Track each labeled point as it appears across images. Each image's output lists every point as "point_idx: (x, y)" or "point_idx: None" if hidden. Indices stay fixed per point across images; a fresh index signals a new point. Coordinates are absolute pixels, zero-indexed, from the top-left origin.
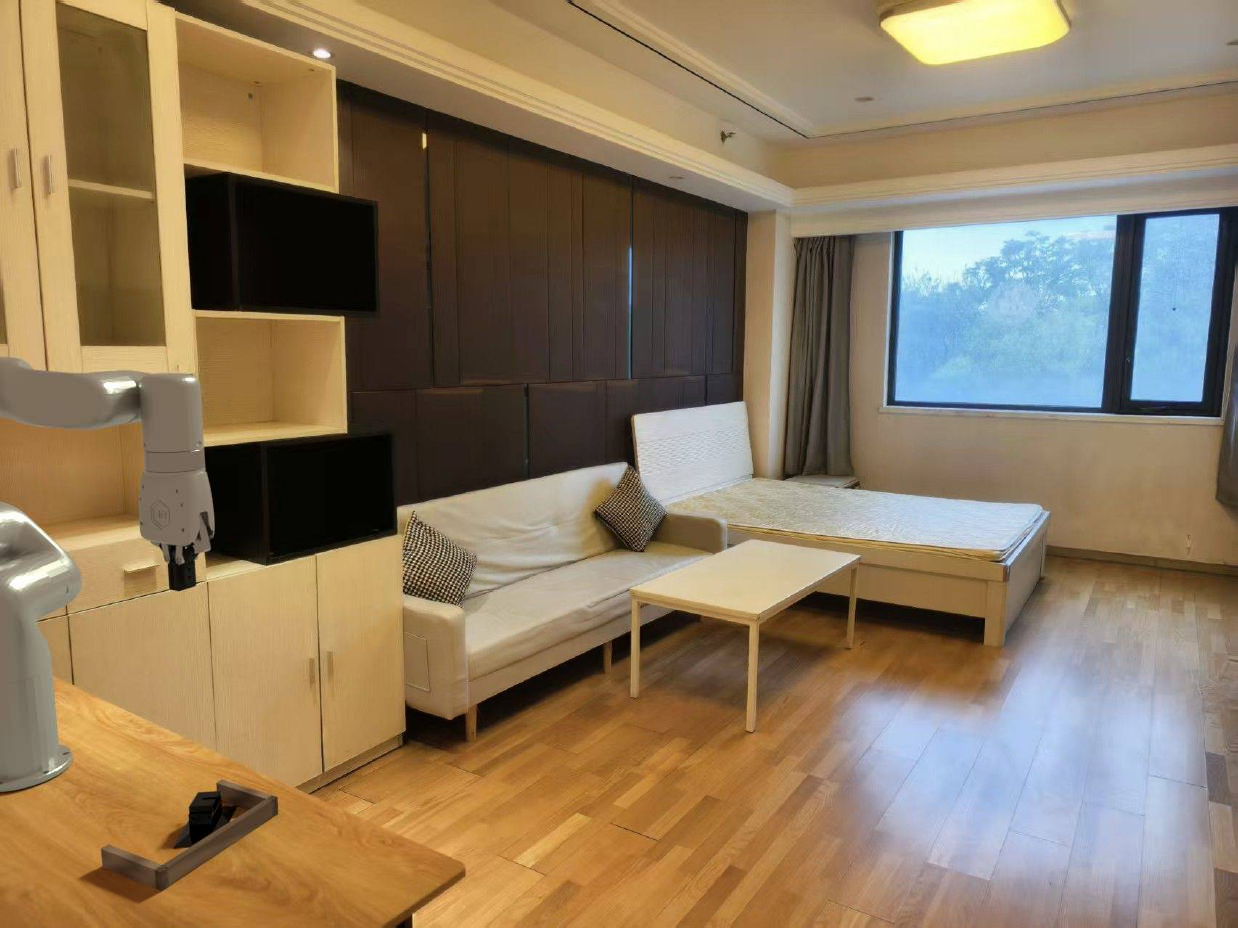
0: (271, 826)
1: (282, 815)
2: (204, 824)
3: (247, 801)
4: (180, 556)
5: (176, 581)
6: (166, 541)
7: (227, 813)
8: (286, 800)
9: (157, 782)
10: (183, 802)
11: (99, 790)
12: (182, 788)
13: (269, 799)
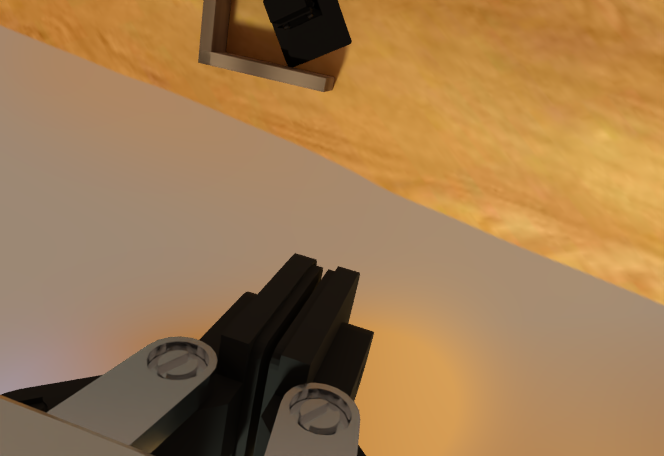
0: None
1: None
2: None
3: (260, 61)
4: (130, 376)
5: (276, 276)
6: (38, 433)
7: (285, 36)
8: (226, 102)
9: (481, 103)
10: (385, 52)
11: (582, 47)
12: (419, 95)
13: (205, 51)
